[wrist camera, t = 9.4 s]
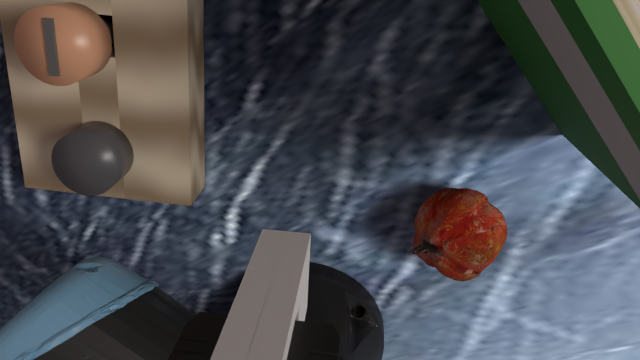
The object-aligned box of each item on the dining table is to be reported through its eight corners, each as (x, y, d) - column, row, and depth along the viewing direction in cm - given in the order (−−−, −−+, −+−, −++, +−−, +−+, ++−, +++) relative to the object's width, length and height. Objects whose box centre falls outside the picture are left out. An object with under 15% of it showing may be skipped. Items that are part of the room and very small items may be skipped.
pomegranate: (484, 162, 47) (396, 178, 42) (553, 207, 42) (462, 231, 37) (459, 231, 51) (375, 253, 45) (519, 280, 45) (433, 312, 40)
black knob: (153, 165, 47) (119, 199, 41) (98, 159, 47) (55, 192, 41) (151, 110, 45) (114, 136, 39) (93, 104, 45) (47, 129, 39)
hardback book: (652, 80, 41) (981, 228, 19) (562, 134, 43) (762, 324, 21) (535, -130, 36) (789, -258, 14) (441, -57, 38) (534, -70, 16)
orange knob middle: (137, 68, 41) (92, 90, 35) (74, 62, 42) (17, 83, 35) (133, 0, 39) (85, 10, 33) (67, -6, 40) (5, 2, 33)
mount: (204, 186, 48) (190, 205, 44) (51, 169, 48) (25, 187, 45) (202, -155, 37) (184, -167, 34) (8, -170, 38) (-31, -183, 34)
